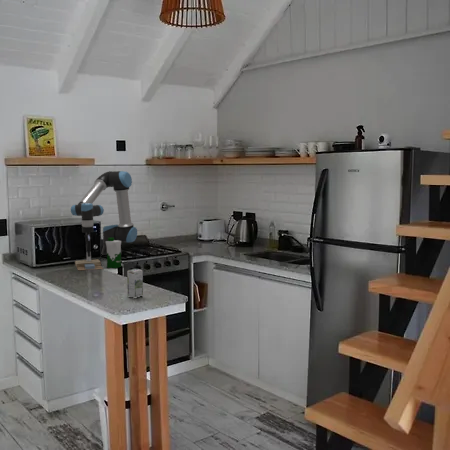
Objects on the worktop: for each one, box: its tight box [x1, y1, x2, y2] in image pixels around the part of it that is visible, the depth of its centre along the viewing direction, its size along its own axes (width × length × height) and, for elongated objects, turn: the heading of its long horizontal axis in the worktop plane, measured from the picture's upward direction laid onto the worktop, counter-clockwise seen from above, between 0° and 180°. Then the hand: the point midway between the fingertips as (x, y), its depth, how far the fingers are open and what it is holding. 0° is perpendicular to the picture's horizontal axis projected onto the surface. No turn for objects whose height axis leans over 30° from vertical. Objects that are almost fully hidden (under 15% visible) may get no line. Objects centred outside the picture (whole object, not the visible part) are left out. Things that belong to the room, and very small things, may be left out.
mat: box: [76, 265, 104, 272], centre depth 364 cm, size 10×16×1 cm, turn 110°
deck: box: [74, 258, 102, 268], centre depth 374 cm, size 12×16×3 cm
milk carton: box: [106, 238, 122, 269], centre depth 367 cm, size 9×9×20 cm
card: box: [85, 264, 95, 269], centre depth 364 cm, size 9×6×2 cm, turn 19°
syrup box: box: [126, 268, 144, 297], centre depth 283 cm, size 6×6×14 cm
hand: (88, 261), depth 367 cm, fingers closed
